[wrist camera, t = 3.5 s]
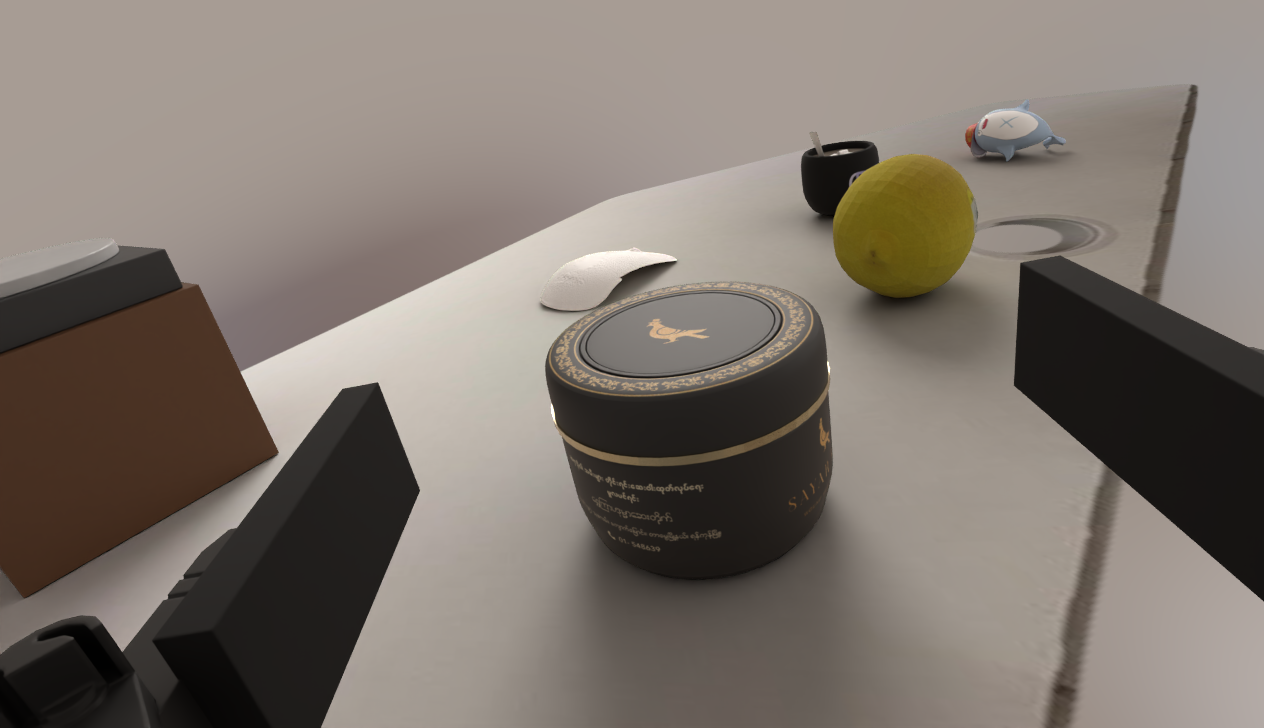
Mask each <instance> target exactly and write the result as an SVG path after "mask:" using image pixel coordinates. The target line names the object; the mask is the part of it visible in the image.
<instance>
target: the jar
mask: <svg viewBox="0 0 1264 728" xmlns="http://www.w3.org/2000/svg"><path fill="white" fill-rule="evenodd" d="M545 372H546V380H547V385H548V390H549V394H550V399H551V403H552V406H551V411H552V416H553V420H554V423H555V427H556V428H557V430H558V432H559V434H560V435H561V436H562V439H563V442H564V446H565V450H566V454H567V457H568V461H569V465H570V469H571V472H572V476H573V480H574V483H575V487H576V491H577V494H578V498H579V501H580V503H581V506H582V508H583V510H584V512H585V514H586V516H587V518H588V519H589V521H590V522H591V524H592V526H593V527H594V529H595V530H596V532H597V533H598V535H599V536H600V538H601V539H602V541H603V542H604V543H605V544H606V546H607V547H608V548H609V549H610V550H611V551H613V552H614V553H615V554H616V555H618V556H619V557H620V558H622V559H624V560H625V561H627V562H629V563H631V564H633V565H635V566H637V567H639V568H642V569H644V570H646V571H649V572H652V573H655V574H658V575H662V576H667V577H673V578H680V579H713V578H721V577H727V576H732V575H737V574H741V573H744V572H747V571H750V570H753V569H756V568H758V567H761V566H763V565H765V564H767V563H770V562H771V561H773V560H775V559H777V558H779V557H780V556H782V555H783V554H785V553H786V552H787V551H789V550H790V549H791V548H793V547H794V546H795V545H796V544H797V543H798V542H799V541H800V540H801V539H803V538H804V537H805V536H806V535H807V534H808V532H809V531H810V530H811V529H812V528H813V526H814V525H815V523H816V522H817V520H818V518H819V517H820V515H821V512H822V510H823V507H824V504H825V500H826V496H827V492H828V489H829V485H830V480H831V475H832V466H833V455H832V439H831V424H830V410H829V396H828V390H829V385H830V370H829V364H828V361H827V349H826V341H825V334H824V328H823V325H822V322H821V319H820V316H819V315H818V313H817V312H816V310H815V309H814V307H813V306H812V305H811V304H810V303H809V302H807V301H806V300H805V299H803V298H801V297H800V296H798V295H796V294H794V293H792V292H789V291H787V290H784V289H780V288H777V287H773V286H768V285H763V284H756V283H746V282H706V283H695V284H686V285H679V286H673V287H667V288H662V289H658V290H653V291H649V292H645V293H642V294H638V295H635V296H631V297H628V298H625V299H622V300H619V301H617V302H614V303H611V304H609V305H607V306H604V307H602V308H600V309H598V310H596V311H594V312H592V313H590V314H588V315H586V316H584V317H583V318H581V319H580V320H578V321H576V322H575V323H574V324H572V325H571V326H570V327H568V328H567V329H566V330H565V331H564V332H563V333H562V334H561V335H560V336H559V337H558V338H557V339H556V340H555V342H554V343H553V344H552V346H551V348H550V350H549V352H548V355H547V358H546V364H545Z"/></svg>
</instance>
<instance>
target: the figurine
mask: <svg viewBox="0 0 1264 728" xmlns="http://www.w3.org/2000/svg"><path fill="white" fill-rule="evenodd" d="M1028 108H1029V100H1025V102H1024V103H1023V104H1021V105H1020V106H1018V107H1016V108H1013V109H998V110H994V111H992V112H990V113H988V114H987V115H985V116H984V117H983V118H982V119H981V120H980V121H979V123H976V124H973V125H971V126H969V127H968V129H967V131H966V134H965V138H966V142H967V144H968V146H969V147H970V148H971V152H972V154H973V155H974V156H975V157H983V156H985V155H986V152H987V151H988V152H998V153H1001V154H1003V155H1004V156H1005V157H1006V162H1007V161H1009V160H1010V159H1011V157H1012V156H1013V154H1014V151H1016V150H1020V149H1023V148H1026V147H1029V146H1032V145H1035V144H1038V143H1040V142H1041V141H1043V140H1045V141H1044V142H1043V144H1044V146H1045V147H1046V149H1048V147H1049V145H1051V144H1060V145H1063V144H1065V143H1066V141H1065V139H1064V138H1062V137H1058V136H1055V135H1054V134H1053V133H1052V131H1051V129H1050V128H1049V126H1048V124H1047V123H1046V122H1045V121H1044V120H1043V119H1041V118H1040V117H1039V116H1038V115H1036V114H1034V113H1032V112H1028ZM1048 137H1049V138H1048Z"/></svg>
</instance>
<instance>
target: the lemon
mask: <svg viewBox="0 0 1264 728" xmlns="http://www.w3.org/2000/svg"><path fill="white" fill-rule="evenodd" d="M977 220H978V211H977V206H976V201H975V198H974V196H973V194H972V192H971V190H970V189H969V187H968V185H967V183H966V182H965V180H964V179H963V177H962V175H961V174H960V173H959V172H958V171H956V170H955V169H954V168H953V167H952V166H950V165H949V164H947V163H945V162H943V161H941V160H939V159H936V158H933V157H930V156H927V155H917V154H909V155H902V156H896V157H893V158H890V159H888V160H885V161H883V162H881V163H878V164H877V165H875V166H873V167H871V168H869V169H867V170H866V171H864V172H863V173H862V174H861V175H860V176H859V177H858V178H857V179H856V180H855V181H854V182H853V183H852V184H851V186H850V187H849V189H848V190H847V192H846V193H845V194H844V196H843V198H842V199H841V201H840V203H839V205H838V207H837V209H836V213H835V216H834V219H833V240H834V248H835V253H836V257H837V259H838V261H839V263H840V265H841V267H842V268H843V269H844V271H845V272H846V273H847V274H848V276H849V277H851V278H852V279H853V280H854V281H855V282H856V283H858V284H859V285H861V286H864V287H866V288H868V289H870V290H872V291H874V292H876V293H878V294H881V295H885V296H889V297H894V298H904V297H913V296H917V295H921V294H924V293H928V292H930V291H932V290H934V289H935V288H937V287H939V286H941V285H942V284H944V283H946V282H947V281H948V280H949V279H950V278H951V277H952V276H953V275H954V274H955V273H956V272H957V270H958V269H959V268H960V267H961V265H962V264H963V262H964V260H965V258H966V257H967V255H968V253H969V251H970V249H971V246H972V243H973V239H974V236H975V233H976V228H977Z"/></svg>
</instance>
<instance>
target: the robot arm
mask: <svg viewBox="0 0 1264 728" xmlns="http://www.w3.org/2000/svg"><path fill="white" fill-rule="evenodd" d="M1014 386H1015V387H1016V388H1017V389H1019V390H1020V391H1021V392H1022V393H1023V394H1024V395H1026V396H1027V397H1028V398H1029V399H1030V400H1031V401H1033V402H1034V403H1035V404H1036V405H1037V406H1038V407H1039V408H1041V409H1042V410H1043V411H1044V412H1045V413H1046V414H1048V415H1049V416H1050V417H1051V418H1052V419H1053V420H1055V421H1056V422H1057V423H1058V424H1059V425H1060V426H1061V427H1063V428H1064V429H1065V430H1066V431H1067V432H1068V433H1070V434H1071V435H1072V436H1073V437H1074V438H1075V439H1076V440H1078V441H1079V442H1080V443H1081V444H1082V445H1083V446H1085V447H1086V448H1087V449H1088V450H1089V451H1090V452H1092V453H1093V454H1094V455H1095V456H1096V457H1097V458H1098V459H1100V460H1101V461H1102V462H1103V463H1104V464H1105V465H1107V466H1108V467H1109V468H1110V469H1111V470H1112V471H1114V472H1115V473H1116V474H1117V475H1118V476H1119V477H1120V478H1122V479H1123V480H1124V481H1125V482H1126V483H1127V484H1129V485H1130V486H1131V487H1132V488H1133V489H1134V490H1136V491H1137V492H1138V493H1139V494H1140V495H1141V496H1142V497H1144V498H1145V499H1146V500H1147V501H1148V502H1149V503H1151V504H1152V505H1153V506H1154V507H1155V508H1156V509H1157V510H1159V511H1160V512H1161V513H1162V514H1163V515H1165V516H1166V517H1167V518H1168V519H1169V520H1170V521H1171V522H1173V523H1174V524H1175V525H1176V526H1177V527H1178V528H1179V529H1181V530H1182V531H1183V532H1184V533H1185V534H1186V535H1188V536H1189V537H1190V538H1191V539H1192V540H1194V541H1195V542H1196V543H1197V544H1198V545H1199V546H1201V547H1202V548H1203V549H1204V550H1205V551H1206V552H1207V553H1208V554H1210V555H1211V556H1212V557H1213V558H1214V559H1215V560H1217V561H1218V562H1219V563H1220V564H1221V565H1222V566H1223V567H1225V568H1226V569H1227V570H1228V571H1229V572H1230V573H1232V574H1233V575H1234V576H1235V577H1236V578H1237V579H1239V580H1240V581H1241V582H1242V583H1243V584H1244V585H1245V586H1247V587H1248V588H1249V589H1250V590H1251V591H1252V592H1254V593H1255V594H1256V595H1257V596H1258V597H1259V598H1260V599H1262V600H1263V601H1264V350H1261V349H1257V348H1254V347H1247V346H1245V345H1242V344H1240V343H1238V342H1236V341H1234V340H1232V339H1230V338H1228V337H1226V336H1224V335H1222V334H1220V333H1218V332H1216V331H1214V330H1211V329H1210V328H1207V327H1206V326H1203V325H1201V324H1199V323H1197V322H1195V321H1193V320H1191V319H1189V318H1187V317H1185V316H1183V315H1181V314H1179V313H1177V312H1175V311H1173V310H1171V309H1169V308H1167V307H1164V306H1162V305H1160V304H1158V303H1156V302H1154V301H1152V300H1150V299H1148V298H1146V297H1144V296H1142V295H1140V294H1138V293H1136V292H1134V291H1132V290H1130V289H1128V288H1126V287H1123V286H1121V285H1119V284H1117V283H1115V282H1113V281H1111V280H1109V279H1107V278H1105V277H1103V276H1101V275H1099V274H1097V273H1095V272H1093V271H1091V270H1089V269H1087V268H1084V267H1082V266H1080V265H1078V264H1076V263H1074V262H1072V261H1070V260H1068V259H1066V258H1064V257H1062V256H1055V257H1050V258H1044V259H1039V260H1034V261H1028V262H1023V263H1020V282H1019V300H1018V319H1017V338H1016V356H1015V375H1014ZM419 492H420V489H419V486H418V484H417V481H416V479H415V476H414V474H413V471H412V468H411V466H410V463H409V461H408V458H407V456H406V453H405V450H404V448H403V445H402V443H401V440H400V438H399V435H398V432H397V430H396V427H395V425H394V422H393V420H392V417H391V414H390V412H389V409H388V407H387V404H386V402H385V399H384V396H383V394H382V391H381V389H380V386H379V384H378V382H377V383H372V384H367V385H361V386H356V387H350V388H345V389H342V390H341V392H340V393H339V394H338V396H337V397H336V398H335V399H334V401H333V402H332V403H331V405H330V406H329V407H328V409H327V410H326V411H325V413H324V414H323V415H322V417H321V418H320V419H319V421H318V422H317V423H316V425H315V426H314V427H313V428H312V430H311V431H310V432H309V434H308V435H307V436H306V438H305V439H304V440H303V442H302V443H301V444H300V446H299V447H298V448H297V450H296V451H295V452H294V454H293V455H292V456H291V458H290V459H289V460H288V461H287V463H286V464H285V465H284V467H283V468H282V469H281V471H280V472H279V473H278V475H277V476H276V477H275V479H274V480H273V481H272V483H271V484H270V485H269V487H268V488H267V489H266V490H265V492H264V493H263V494H262V496H261V497H260V498H259V500H258V501H257V502H256V504H255V505H254V506H253V508H252V509H251V510H250V512H249V513H248V514H247V516H246V517H245V518H244V519H243V521H242V522H241V523H240V525H239V526H238V527H237V528H235V529H230V530H228V531H227V532H226V533H225V534H223V535H222V536H221V537H220V538H218V539H217V540H216V541H215V542H213V543H212V544H211V545H210V546H209V547H207V548H206V549H205V550H204V551H202V552H201V554H200V555H199V556H198V557H197V559H196V560H195V561H194V563H193V564H192V565H191V566H190V568H189V569H188V570H187V571H186V573H185V574H184V575H183V576H184V579H183V580H179V581H178V583H177V584H176V585H175V587H174V588H173V589H172V590H171V592H170V593H169V594H168V599H167V600H163V602H162V603H161V604H160V605H159V607H158V608H157V609H156V611H155V612H154V613H153V614H152V616H151V617H150V618H149V619H148V621H147V622H146V623H145V624H144V626H143V627H142V628H141V630H140V631H139V632H138V633H137V635H136V636H135V637H134V638H133V640H132V641H131V642H130V643H129V645H128V646H127V647H126V648H125V650H124V651H123V652H122V651H121V650H120V648H119V647H118V645H117V644H116V643H115V641H114V640H113V638H112V637H111V635H110V634H109V633H108V631H107V630H106V628H105V627H104V625H103V624H102V623H101V622H100V621H99V620H98V619H97V618H96V617H95V616H77V617H73V618H68V619H64V620H60V621H58V622H56V623H53V624H51V625H49V626H46V627H44V628H42V629H40V630H37V631H35V632H34V633H32V634H30V635H29V636H27V637H25V638H24V639H22V640H20V641H19V642H17V643H15V644H14V645H12V646H11V647H9V648H8V649H7V650H6V651H4V652H3V653H2V654H1V655H0V728H321V726H322V724H323V721H324V719H325V716H326V714H327V712H328V709H329V707H330V704H331V702H332V700H333V697H334V695H335V692H336V690H337V688H338V685H339V683H340V680H341V678H342V676H343V673H344V671H345V669H346V666H347V664H348V661H349V659H350V657H351V654H352V652H353V649H354V647H355V645H356V642H357V640H358V637H359V635H360V633H361V630H362V628H363V625H364V623H365V621H366V618H367V616H368V614H369V611H370V609H371V606H372V604H373V602H374V599H375V597H376V594H377V592H378V590H379V587H380V585H381V582H382V580H383V578H384V575H385V573H386V570H387V568H388V566H389V563H390V561H391V559H392V556H393V554H394V551H395V549H396V547H397V544H398V542H399V539H400V537H401V535H402V532H403V530H404V527H405V525H406V523H407V520H408V518H409V515H410V513H411V511H412V508H413V506H414V504H415V501H416V499H417V496H418V494H419Z"/></svg>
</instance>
